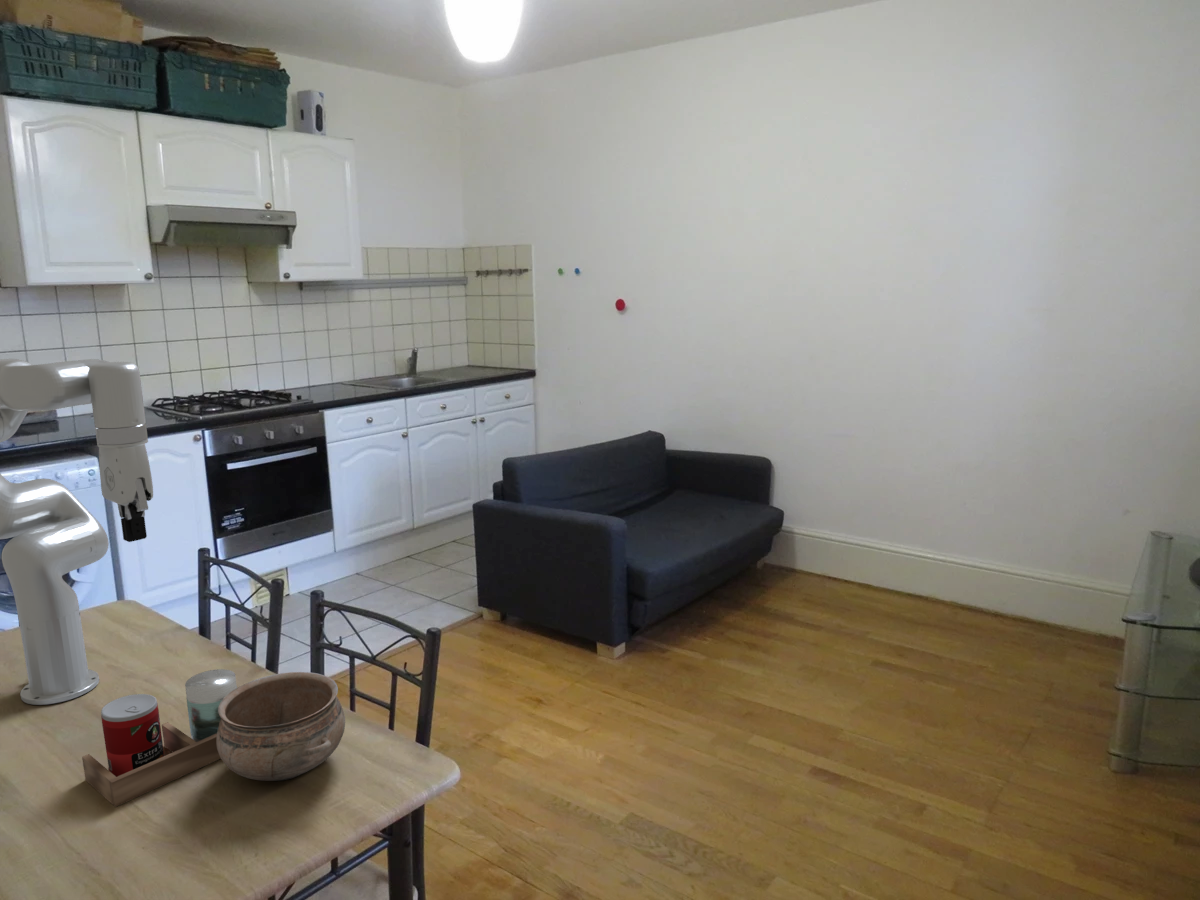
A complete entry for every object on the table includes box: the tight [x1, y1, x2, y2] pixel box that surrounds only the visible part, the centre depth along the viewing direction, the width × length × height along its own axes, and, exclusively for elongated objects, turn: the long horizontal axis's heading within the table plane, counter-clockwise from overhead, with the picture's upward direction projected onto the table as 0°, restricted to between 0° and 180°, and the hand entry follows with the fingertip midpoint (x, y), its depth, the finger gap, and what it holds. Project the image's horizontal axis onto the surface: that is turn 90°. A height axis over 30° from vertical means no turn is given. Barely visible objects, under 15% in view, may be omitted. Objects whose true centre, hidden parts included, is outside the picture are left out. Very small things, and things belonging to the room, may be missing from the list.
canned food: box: [100, 693, 165, 777], centre depth 132 cm, size 8×8×11 cm
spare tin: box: [184, 668, 238, 742], centre depth 140 cm, size 8×8×11 cm
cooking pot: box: [216, 671, 346, 782], centre depth 131 cm, size 25×19×12 cm
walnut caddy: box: [81, 721, 222, 808], centre depth 136 cm, size 11×25×4 cm, turn 141°
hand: (135, 539), depth 145 cm, fingers closed
